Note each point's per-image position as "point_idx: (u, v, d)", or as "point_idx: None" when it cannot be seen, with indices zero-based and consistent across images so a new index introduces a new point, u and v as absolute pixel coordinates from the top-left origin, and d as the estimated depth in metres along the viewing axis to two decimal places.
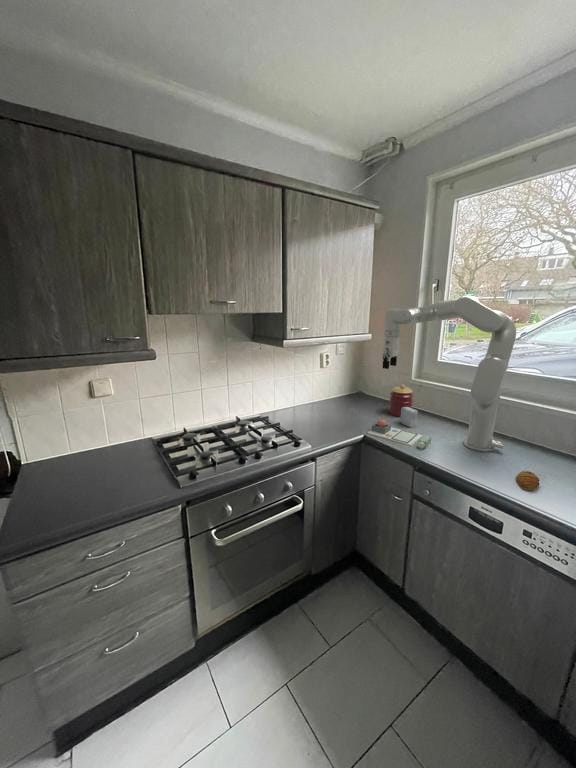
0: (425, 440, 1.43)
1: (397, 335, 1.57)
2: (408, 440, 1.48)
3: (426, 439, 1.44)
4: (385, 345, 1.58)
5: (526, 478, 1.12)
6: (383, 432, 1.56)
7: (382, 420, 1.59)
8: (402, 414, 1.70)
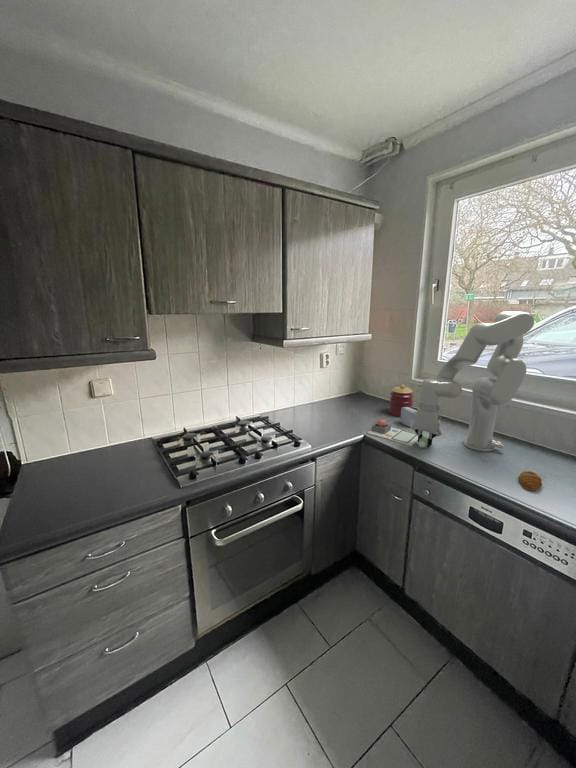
0: (426, 439, 1.43)
1: None
2: (408, 440, 1.48)
3: (427, 438, 1.44)
4: (438, 421, 1.38)
5: (529, 478, 1.12)
6: (383, 432, 1.56)
7: (382, 420, 1.59)
8: (402, 414, 1.70)
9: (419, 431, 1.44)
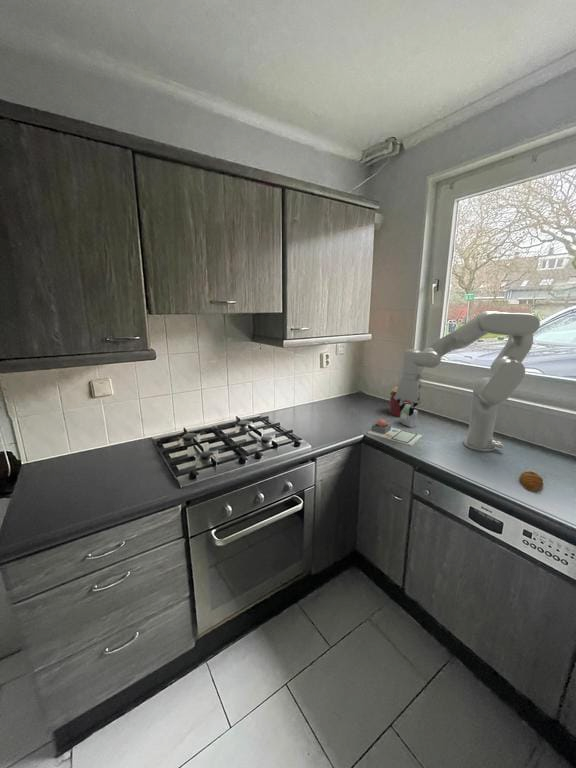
0: (407, 411, 1.48)
1: None
2: (408, 440, 1.48)
3: (408, 409, 1.49)
4: (418, 390, 1.43)
5: (530, 479, 1.12)
6: (383, 432, 1.56)
7: (382, 420, 1.59)
8: None
9: (401, 400, 1.49)
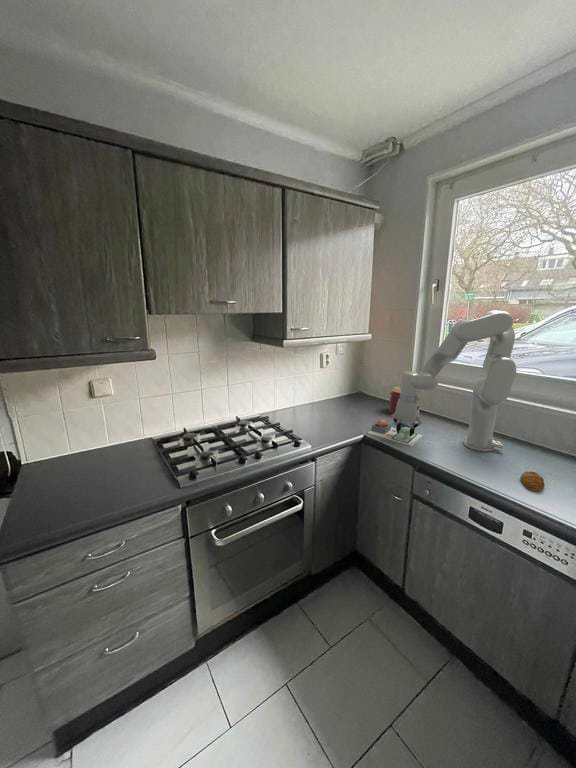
0: (405, 431, 1.50)
1: None
2: (408, 440, 1.48)
3: (406, 430, 1.51)
4: (416, 411, 1.46)
5: (532, 479, 1.12)
6: (383, 432, 1.56)
7: (382, 420, 1.59)
8: None
9: (397, 420, 1.52)
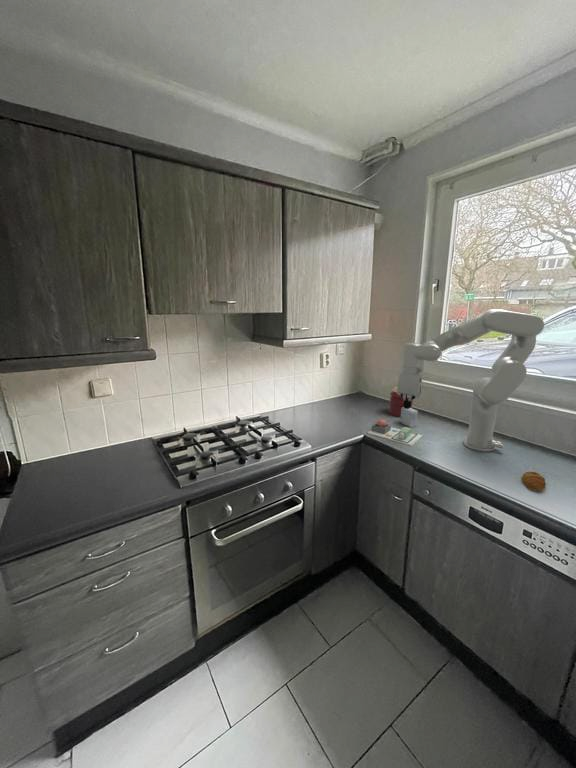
0: (405, 431, 1.50)
1: None
2: (408, 440, 1.48)
3: (406, 430, 1.51)
4: (419, 383, 1.42)
5: (533, 479, 1.12)
6: (383, 432, 1.56)
7: (382, 420, 1.59)
8: (402, 414, 1.70)
9: (405, 395, 1.47)
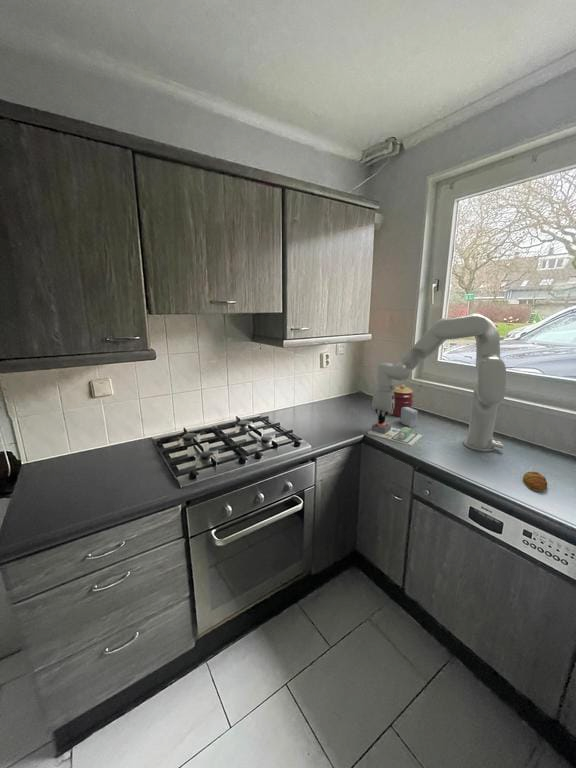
0: (405, 431, 1.50)
1: None
2: (408, 440, 1.48)
3: (406, 430, 1.51)
4: (391, 400, 1.52)
5: (535, 479, 1.12)
6: (383, 432, 1.56)
7: None
8: (402, 414, 1.70)
9: (379, 411, 1.58)
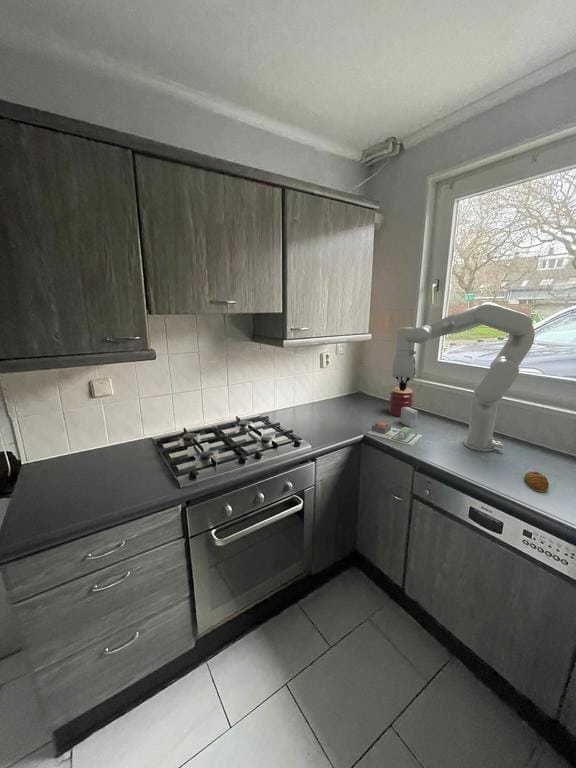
0: (405, 431, 1.50)
1: None
2: (408, 440, 1.48)
3: (406, 430, 1.51)
4: (413, 365, 1.49)
5: (536, 479, 1.11)
6: (383, 432, 1.56)
7: (382, 423, 1.60)
8: (402, 414, 1.70)
9: (400, 377, 1.54)
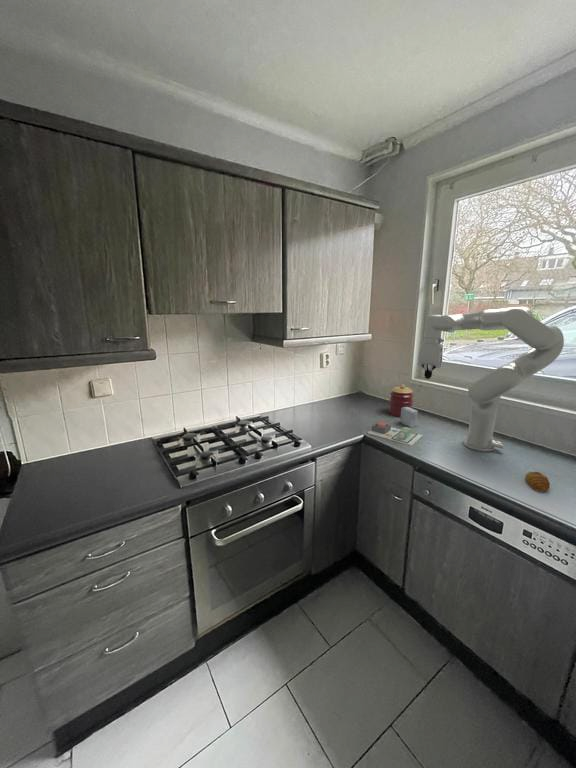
0: (405, 431, 1.50)
1: None
2: (408, 440, 1.48)
3: (406, 430, 1.51)
4: (440, 353, 1.49)
5: (538, 479, 1.11)
6: (383, 432, 1.56)
7: (382, 423, 1.60)
8: (402, 414, 1.70)
9: (426, 365, 1.54)
